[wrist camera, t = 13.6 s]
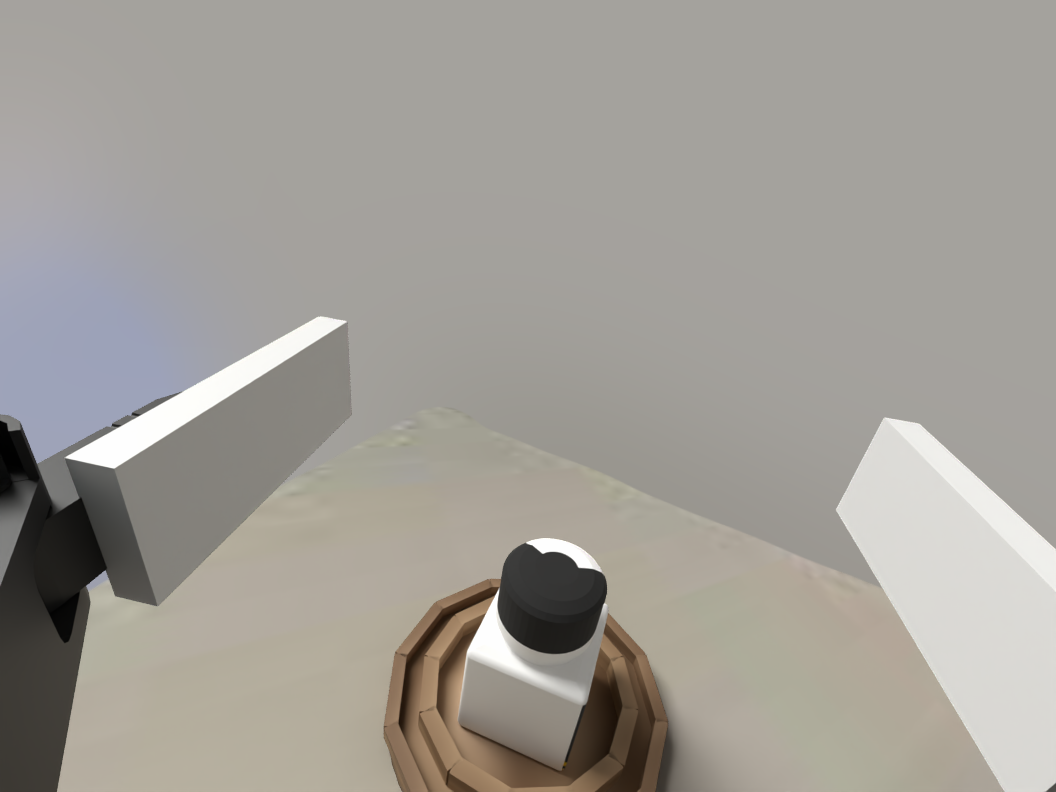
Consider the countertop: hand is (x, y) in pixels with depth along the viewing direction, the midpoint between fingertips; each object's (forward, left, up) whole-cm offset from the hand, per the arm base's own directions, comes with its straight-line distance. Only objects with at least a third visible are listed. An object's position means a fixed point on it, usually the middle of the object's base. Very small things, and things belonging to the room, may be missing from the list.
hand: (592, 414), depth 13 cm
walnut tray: (-3, -9, -28) cm, 30 cm away
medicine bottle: (-3, -9, -27) cm, 29 cm away
